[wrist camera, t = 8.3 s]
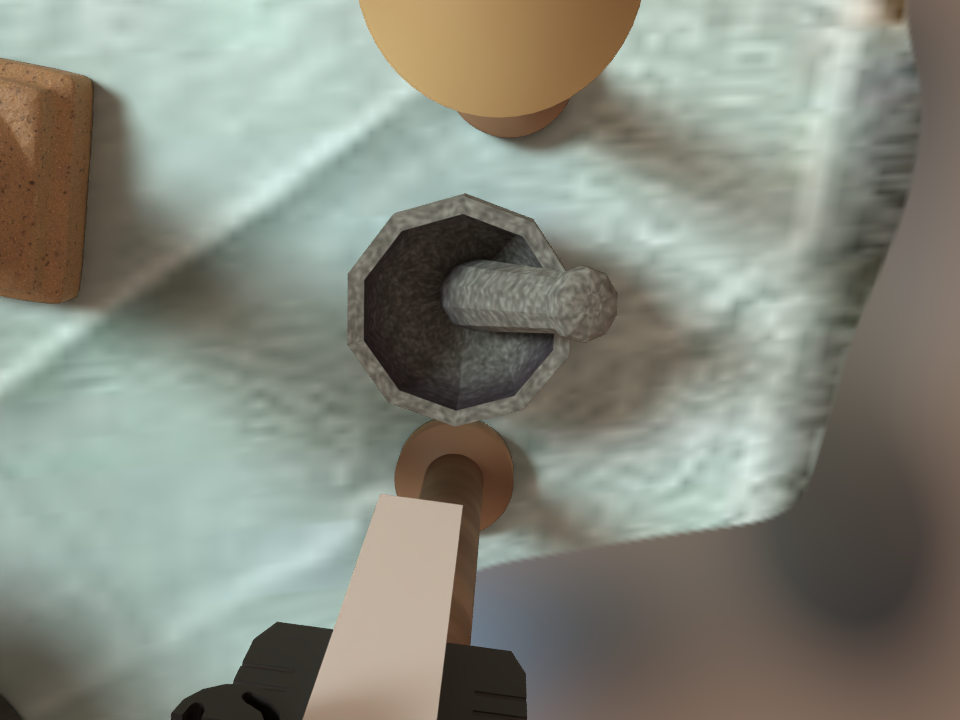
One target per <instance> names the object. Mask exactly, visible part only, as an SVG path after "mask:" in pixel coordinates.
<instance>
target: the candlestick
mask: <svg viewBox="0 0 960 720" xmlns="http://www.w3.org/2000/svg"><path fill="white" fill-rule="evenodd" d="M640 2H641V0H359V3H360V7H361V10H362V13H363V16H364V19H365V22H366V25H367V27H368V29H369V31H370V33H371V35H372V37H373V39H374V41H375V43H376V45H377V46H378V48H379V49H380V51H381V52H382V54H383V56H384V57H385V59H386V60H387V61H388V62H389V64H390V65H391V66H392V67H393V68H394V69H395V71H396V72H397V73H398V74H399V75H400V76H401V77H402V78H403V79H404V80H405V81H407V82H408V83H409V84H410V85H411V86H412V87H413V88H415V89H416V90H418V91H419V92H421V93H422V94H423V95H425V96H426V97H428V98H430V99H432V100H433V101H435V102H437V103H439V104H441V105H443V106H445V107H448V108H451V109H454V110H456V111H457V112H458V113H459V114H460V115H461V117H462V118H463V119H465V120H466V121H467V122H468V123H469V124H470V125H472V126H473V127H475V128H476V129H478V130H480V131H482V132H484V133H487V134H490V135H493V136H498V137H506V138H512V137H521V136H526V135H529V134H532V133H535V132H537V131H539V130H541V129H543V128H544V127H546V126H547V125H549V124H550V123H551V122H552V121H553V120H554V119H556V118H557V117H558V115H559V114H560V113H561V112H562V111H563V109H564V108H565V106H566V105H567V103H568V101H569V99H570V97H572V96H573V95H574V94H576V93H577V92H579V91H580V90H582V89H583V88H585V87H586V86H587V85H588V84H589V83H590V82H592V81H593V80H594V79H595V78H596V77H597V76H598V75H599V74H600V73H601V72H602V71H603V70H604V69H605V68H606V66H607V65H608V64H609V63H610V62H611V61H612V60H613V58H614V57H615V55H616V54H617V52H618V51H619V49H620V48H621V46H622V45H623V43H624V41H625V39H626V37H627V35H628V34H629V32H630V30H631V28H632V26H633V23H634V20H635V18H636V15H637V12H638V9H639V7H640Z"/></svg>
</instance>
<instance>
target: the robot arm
mask: <svg viewBox="0 0 960 720" xmlns="http://www.w3.org/2000/svg"><path fill="white" fill-rule="evenodd" d="M462 508H463V505H458V504H450V503H443V502H436V501H428V500H421V499H414V498H406V497H399V496H392V495H385V494H380V496H379V499H378V502H377V505H376V508H375V511H374V514H373V517H372V520H371V522H370V525H369V528H368V531H367V534H366V537H365V540H364V543H363V546H362V549H361V551H360V554H359V557H358V560H357V563H356V566H355V569H354V572H353V575H352V578H351V580H350V583H349V586H348V589H347V592H346V595H345V598H344V601H343V604H342V607H341V609H340V612H339V615H338V618H337V621H336V624H335V627H334V630H333V629H326V628H319V627H311V626H304V625H297V624H289V623H282V622H276V623H275V624H274V625H272V626H271V627H270V628H268V629H267V630H266V631H264V632H263V633H262V634H260V635H259V636H258V637H256V638H255V639H254V640H253V642H252V644H251V646H250V648H249V650H248V652H247V654H246V656H245V658H244V660H243V664H242V666H240V668H239V670H238V672H237V674H236V677H235V679H234V682H233V684H224V685H219V686H215V687H211V688H206V689H202V690H200V691H199V692H197V693H195V694H193V695H191V696H189V697H187V698H185V699H184V700H183V701H182V702H181V703H180V704H179V705H178V706H177V707H176V708H175V710H174V711H173V712H172V713H171V720H527V704H526V703H527V702H526V673H525V672H524V670H523V669H522V667H521V666H520V664H519V663H518V661H517V660H516V658H515V656H514V655H513V653H512V652H511V651H506V650H497V649H491V648H483V647H476V646H469V645H462V644H454V643H447V642H446V640H447V631H448V623H449V615H450V607H451V598H452V590H453V582H454V574H455V565H456V557H457V549H458V541H459V532H460V524H461V516H462ZM0 720H21V719H20V718H19V717H18V715H17V714H16V713H15V711H14V710H13V709H12V708H11V707H10V706H9V705H8V704H7V703H6V702H5V701H4V700H3V699H2V698H1V697H0Z"/></svg>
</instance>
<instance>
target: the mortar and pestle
mask: <svg viewBox="0 0 960 720" xmlns="http://www.w3.org/2000/svg"><path fill="white" fill-rule="evenodd" d="M616 315H617V292H616V291H615V289H614V287H613V285H612V284H611V282H610V280H609V278H608V277H607V275H606V274H605V273H602V272H600V271H597V270H595V269H592V268H590V267H587V266H578V267H576V268H573V269H570V270H568V271H566V269H565V268H564V266H563V264H562V263H561V261H560V260H559V258H558V257H557V255H556V254H555V252H554V250H553V249H552V247H551V246H550V244H549V243H548V241H547V240H546V238H545V237H544V235H543V233H542V232H541V230H540V229H539V227H538V226H537V224H536V223H535V221H534V219H532V218H529V217H526V216H524V215H521V214H518V213H516V212H513V211H510V210H508V209H505V208H503V207H500V206H497V205H495V204H492V203H489V202H487V201H484V200H481V199H479V198H476V197H474V196H471V195H468V194H466V193H465V194H461V195H458V196H454V197H451V198H447V199H444V200H440V201H436V202H433V203H429V204H426V205H422V206H419V207H415V208H412V209H408V210H404V211H401V212H397V213H395V214H394V215H393V216H392V217H391V218H390V219H389V221H388V222H387V223H386V225H385V226H384V227H383V228H382V230H381V231H380V232H379V234H378V235H377V236H376V238H375V239H374V240H373V242H372V243H371V244H370V246H369V247H368V248H367V250H366V251H365V252H364V253H363V255H362V256H361V257H360V259H359V260H358V261H357V263H356V264H355V265H354V267H353V268H352V269H351V271H350V272H349V273H348V346H349V348H350V349H351V350H352V352H353V353H354V354H355V356H356V357H357V359H358V360H359V361H360V363H361V364H362V366H363V367H364V368H365V370H366V371H367V373H368V374H369V375H370V377H371V378H372V380H373V381H374V382H375V384H376V385H377V387H378V388H379V389H380V391H381V392H382V394H383V395H384V396H385V398H386V399H387V401H388V402H389V403H392V404H394V405H397V406H400V407H403V408H405V409H408V410H411V411H414V412H416V413H419V414H422V415H425V416H427V417H430V418H433V419H436V420H438V421H441V422H444V423H447V424H449V425H452V426H455V427H456V426H460V425H464V424H468V423H471V422H475V421H479V420H483V419H487V418H491V417H495V416H499V415H503V414H507V413H511V412H515V411H519V410H523V409H524V408H525V407H526V406H527V405H528V403H529V402H530V401H531V400H532V399H533V397H534V396H535V395H536V394H537V393H538V392H539V390H540V389H541V388H542V387H543V386H544V385H545V383H546V382H547V381H548V380H549V379H550V378H551V376H552V375H553V374H554V373H555V372H556V371H557V369H558V368H559V367H560V366H561V365H562V364H563V362H564V361H565V360H566V359H567V358H568V357H569V349H570V339H571V340H574V341H577V342H588V341H590V340H593V339H595V338H597V337H600V336H602V335H604V334H605V333H606V332H607V330H608V328H609V327H610V325H611V324H612V322H613V320H614V319H615V317H616Z"/></svg>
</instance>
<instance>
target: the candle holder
mask: <svg viewBox="0 0 960 720" xmlns="http://www.w3.org/2000/svg"><path fill="white" fill-rule="evenodd" d="M92 124H93V85H92V81H91V79H89V78H87V77H86V76H84V75H80V74H76V73H72V72H67V71H63V70H59V69H55V68H50V67H45V66H40V65H35V64H30V63H25V62H19V61H14V60H9V59H4V58H0V296H4V297H9V298H14V299H19V300H25V301H34V302H42V303H50V304H55V303H62V302H64V301H67V300H69V299H72V298H75V297H76V296H77V294H78V292H79V289H80V281H81V273H82V265H83V252H84V238H85V224H86V209H87V195H88V181H89V167H90V152H91V138H92Z"/></svg>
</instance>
